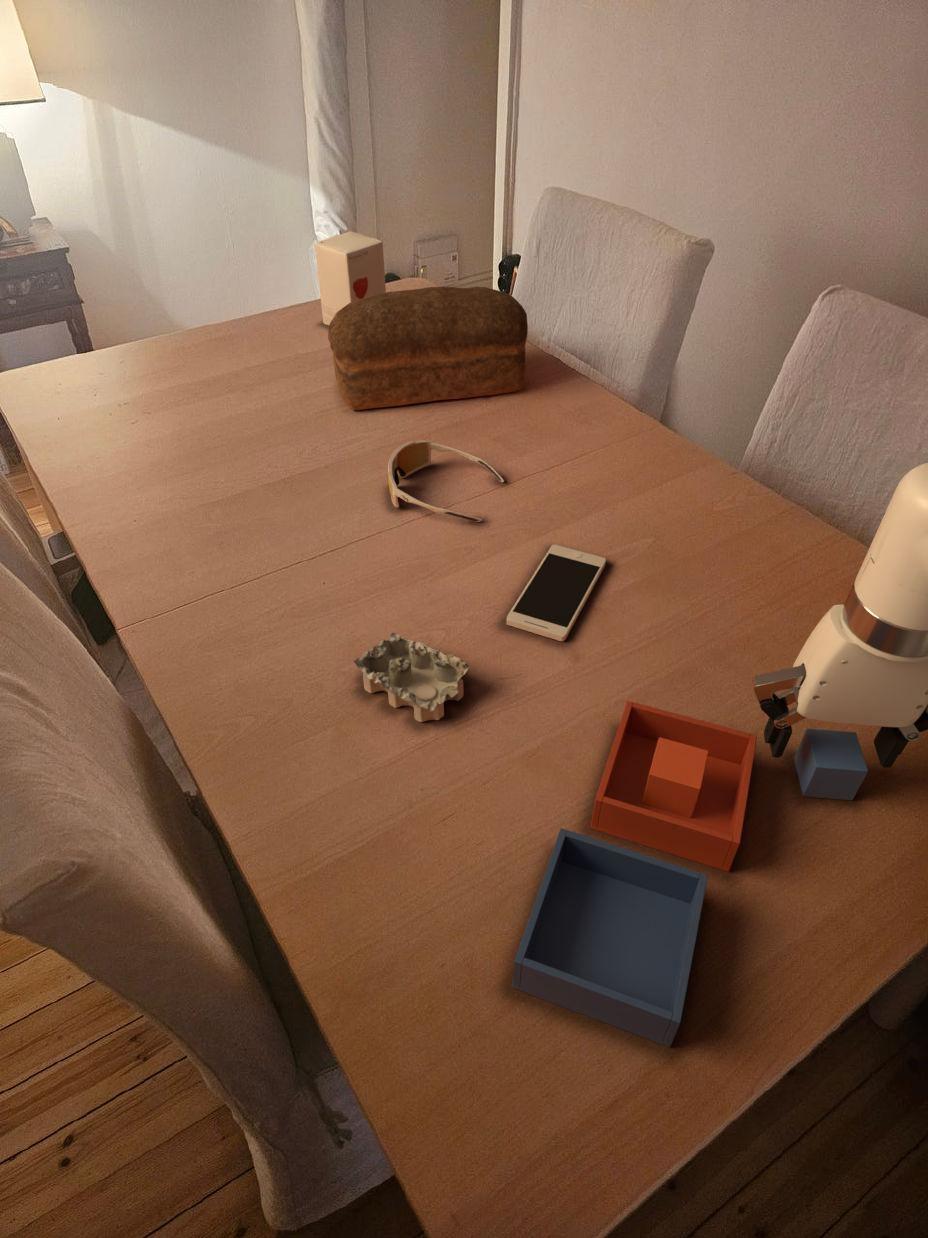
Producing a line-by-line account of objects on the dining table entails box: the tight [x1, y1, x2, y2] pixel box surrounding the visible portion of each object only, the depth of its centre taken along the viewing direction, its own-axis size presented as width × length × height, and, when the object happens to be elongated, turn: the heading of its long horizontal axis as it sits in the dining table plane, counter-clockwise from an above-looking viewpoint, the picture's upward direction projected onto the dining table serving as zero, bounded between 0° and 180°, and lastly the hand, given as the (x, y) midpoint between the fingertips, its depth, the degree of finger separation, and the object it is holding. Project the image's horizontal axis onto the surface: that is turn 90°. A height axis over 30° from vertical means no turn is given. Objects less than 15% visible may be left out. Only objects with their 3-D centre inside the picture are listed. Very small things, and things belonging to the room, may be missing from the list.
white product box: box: [314, 230, 387, 327], centre depth 151 cm, size 9×9×15 cm
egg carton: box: [353, 632, 470, 723], centre depth 85 cm, size 11×8×4 cm
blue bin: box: [511, 827, 709, 1048], centre depth 64 cm, size 12×12×4 cm
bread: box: [327, 286, 529, 411], centre depth 132 cm, size 15×32×16 cm, turn 103°
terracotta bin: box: [590, 700, 758, 873], centre depth 75 cm, size 12×12×4 cm
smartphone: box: [506, 544, 607, 642], centre depth 97 cm, size 7×16×1 cm, turn 155°
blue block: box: [793, 728, 869, 801], centre depth 76 cm, size 4×4×4 cm
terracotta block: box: [642, 737, 708, 818], centre depth 74 cm, size 4×4×4 cm
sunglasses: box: [387, 439, 505, 523], centre depth 113 cm, size 14×15×5 cm
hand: (827, 750), depth 75 cm, fingers open, 9 cm apart
